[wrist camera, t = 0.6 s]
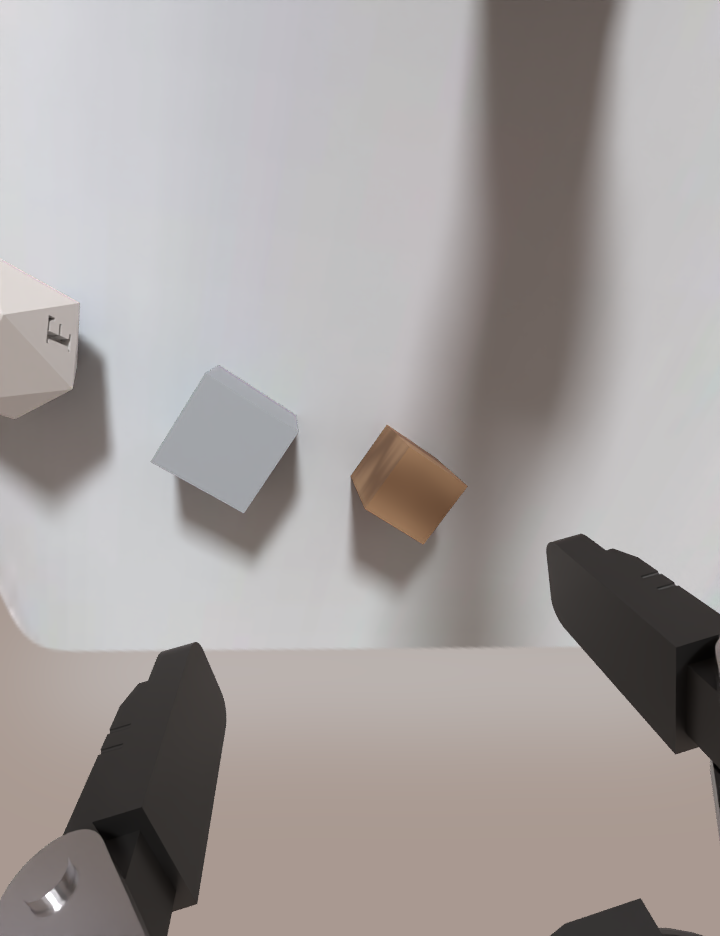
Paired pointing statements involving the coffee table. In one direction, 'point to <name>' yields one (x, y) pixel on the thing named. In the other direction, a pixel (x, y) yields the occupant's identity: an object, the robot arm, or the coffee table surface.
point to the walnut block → (406, 485)
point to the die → (34, 342)
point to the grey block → (227, 439)
